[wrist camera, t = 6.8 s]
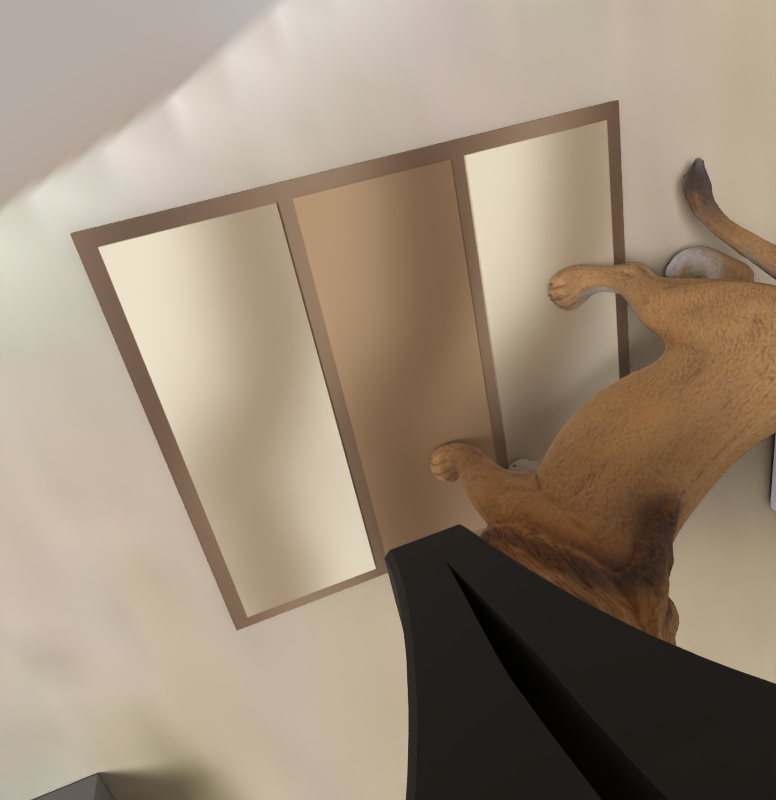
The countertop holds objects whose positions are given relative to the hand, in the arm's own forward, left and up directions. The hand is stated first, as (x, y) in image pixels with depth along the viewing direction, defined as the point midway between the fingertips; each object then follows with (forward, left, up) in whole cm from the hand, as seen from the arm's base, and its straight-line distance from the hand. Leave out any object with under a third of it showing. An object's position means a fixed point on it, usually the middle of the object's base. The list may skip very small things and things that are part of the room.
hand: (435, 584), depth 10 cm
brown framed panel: (-2, 0, -8) cm, 8 cm away
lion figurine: (-6, +2, -8) cm, 10 cm away
